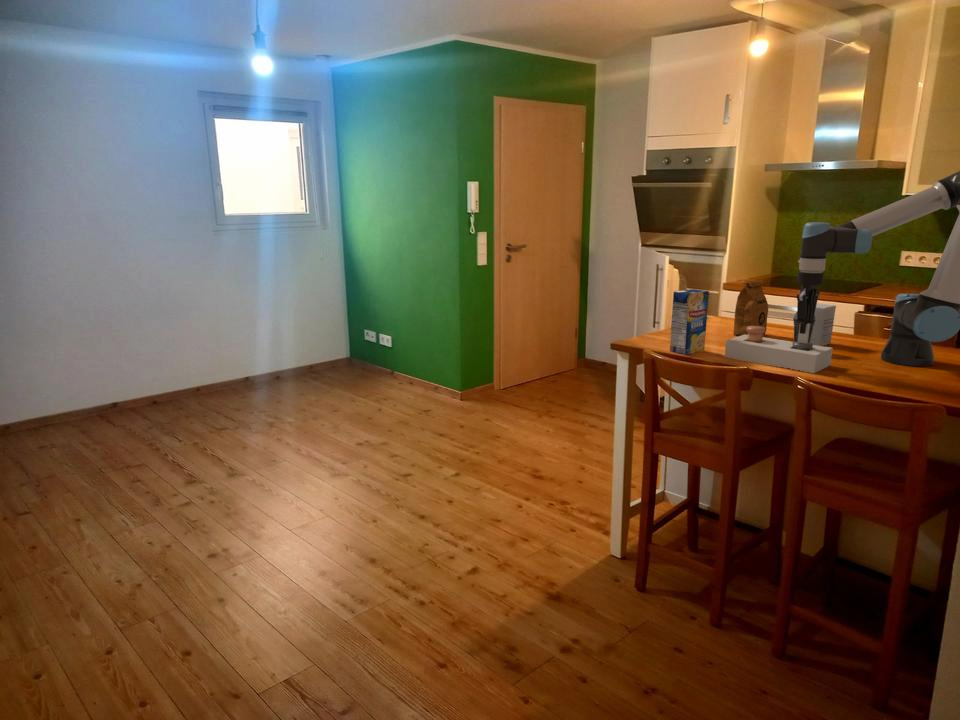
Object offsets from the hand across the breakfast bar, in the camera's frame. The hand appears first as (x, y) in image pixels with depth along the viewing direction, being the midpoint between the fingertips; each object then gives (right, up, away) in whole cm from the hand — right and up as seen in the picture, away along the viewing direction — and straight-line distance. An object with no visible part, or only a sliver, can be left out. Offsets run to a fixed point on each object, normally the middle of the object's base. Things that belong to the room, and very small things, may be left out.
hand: (802, 342), depth 214 cm
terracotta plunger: (-11, 0, +12) cm, 16 cm away
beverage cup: (+10, -3, +21) cm, 24 cm away
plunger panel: (-5, -6, +8) cm, 11 cm away
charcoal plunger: (0, -6, +1) cm, 6 cm away
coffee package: (+2, +4, +48) cm, 48 cm away
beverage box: (-31, -3, +23) cm, 39 cm away
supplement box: (+20, 0, +32) cm, 38 cm away
